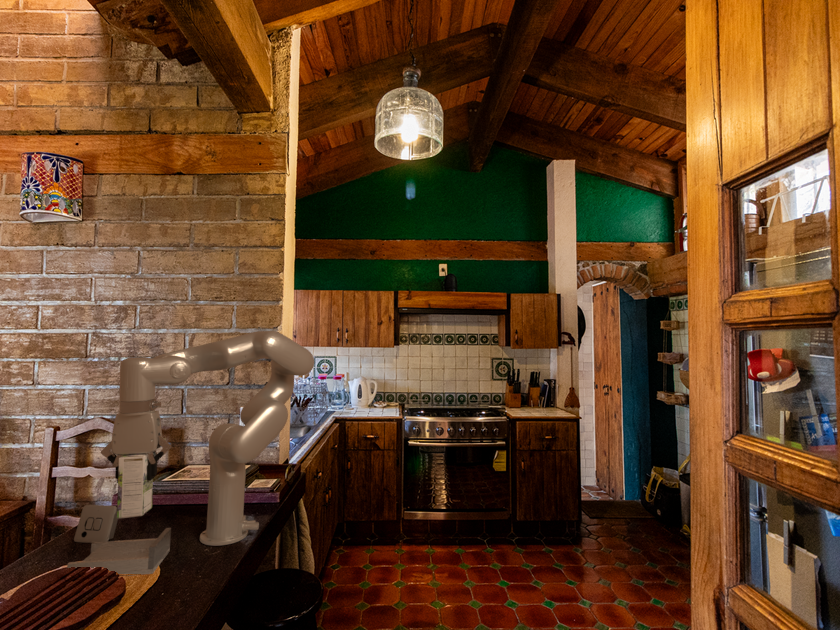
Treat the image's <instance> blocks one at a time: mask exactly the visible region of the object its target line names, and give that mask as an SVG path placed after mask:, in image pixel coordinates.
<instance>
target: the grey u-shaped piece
mask: <svg viewBox="0 0 840 630" xmlns="http://www.w3.org/2000/svg"><path fill="white" fill-rule="evenodd" d="M171 533H172V527H165V529H164V530H163V531H162V532H161V533H160V534H159V536H158V537H157V538H143V539H125V540H110V541H109V540H108V541H107V542H93V543H90V545H91V546H90V554H89V555H87V557H85V558H84V559H83V560H82V561H71V562H70V561H69V562H68V563H67V565H66V569H67V568H71V567H75V568H77V567H91V568H94V567H104V568H107V569H108V570H109V571H115V572H117V573H118V574H141V575H151V574H154V572H155V571H156V570H157V569H158V567H159V566H160V565H161V563H163V560H164V559H165V558H166V557H167V556H168V554H169V552H171V535H172V534H171Z"/></svg>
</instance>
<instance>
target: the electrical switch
mask: <svg viewBox="0 0 840 630" xmlns="http://www.w3.org/2000/svg"><path fill="white" fill-rule="evenodd" d="M80 513H81V514H80V517H79V520H78V524H77V528H76V531H75V534H74V538H73V540H74V542H76V543H87V544H92V543H93V542H107V541H109V540H111V539H114V536H115V532H116V529H117V523H118V521H119V518H117V505H101V504H99V505H98V504H85V505H84V506H83V507H82V511H81V512H80Z"/></svg>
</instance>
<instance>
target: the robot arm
mask: <svg viewBox="0 0 840 630" xmlns="http://www.w3.org/2000/svg"><path fill="white" fill-rule="evenodd" d="M262 359H264V360H265V359H267V360H270V368H271V369H270V372H271V373H270V374H271V375H270V378H269V380H268V382H267V383H266V384H265V385H264V386H263V387H262V388H261V389H260V390H259V391H258V392H257V393H255V395H253V397H252V398H251V399H250V400H249V401H247V403H245V405H244V406H243V407H242V409H241V411H240V415H239V417H240V422H241V423H242V424H243V425H240V424H237V423H233V422H231V423H223V424H220V425H219V426H217V427H216V428H214V429H213V431H212V432H211V434H210V437H209V439H208V455H209V456H208V457H209V483H208V497H207V513H206V514H207V515H206V529H205V530H204V531H202V532H201V533H200V535H199V541H200V543H202V544H204V545H206V546H215V547H216V546H218V547H219V546H226V545H231V544H235V543H238V542H240V541H242V540H243V539H245V538H246V537H247V536H248V535H249V531H250V530H251V531H257V530H259V528H260V523H259V521H257V522H256V520H254V519H253V520H248V519H246V515H244V510H245V509H244V508H245V507H244V506H245V490H246V489H245V488H246V473H247V472H246V470H247V469H246V463H250V462H252V461H254V460H255V459H256V458H258V457H259V456H260V455H261V454H262V452H263V451H264V450H265V449H266V448H267V447H268V446H269V445H270V444H271V443H272V442H273V441H274V440H275V439H276V438H277V436H278V435H279V434H280V433H281V432H282V430H284V428H285V426H286V424H287V422H288V417H289V412H288V408H287V405H286V403H287V402H288V401H289V400H290V399H291V396H292V395H293V393H294V390H295V389H294V388H295V377H296V376H297V377H298V376H300V377H302V376H305V375H308V374H309V373H310V372H311V371H312V370H313V368H314V366H315V359H314V355H313V354H312V352H311V351H310V350H309V349H307V348H306V347H304V346H303V345H301V344H300V343H298V342H296V341H294V340H293V339H291V338H289V337H288V336H286V335H285V334H283V333H281V332H278V331H275V330H258V331H252V332H249V333H245V334H241V335H237V336H234V337H229V338H226V339H222V340H217V341H213V342H208V343H205V344H200V345H196V346H192V347H187V348H181V349H179V350H178V349H177V350H173V351H171V352H165V353H163V354H159V355H157V356H156V355H155V356H154V357H153V358H152V357H129V358H124V359H122V360H121V362H120V364H119V399H118V401H119V403H118V404H119V405H118V408H119V409H118V411H119V412H118V413H116V414H115V417H114V418H115V419H114V422H113V427H112V435H111V441H110V442H109V443H108V444H107V445H106V446H105V447H103V449H101V451H100V454H101V455H102V456H104V457H105V458H106V459H107V460H108V461H109V462H110V463H111V464H112V465H113V467H115V477H114V478H115V479H116V483H117V484H118V472H119V458H120V457H122V456H124V455H128V454H143V453H146V454H147V457H148V459H149V461H150V462H149V464H148V466H147V480H148V481H151V480H152V479H153V480H154V478H155V477H156V476H157V474H158V461H159V460H160V459H161V458H162V457H163V456H164V455H166V453H167V452H169V450H171V449H172V444H170V443H169V442H168V441H167V440H166V439H165V438H164V437H163V432H162V422H161V416H160V415H161V414H160V412H159V410H156V409H157V408H160V407H162V402H161V401H157V398H156V385H170V386H171V385H172V386H174V385H180V384H183V383H184V382H186V381H187V380H188V379H189V378H190V377H191V374H196V373H200V372H213V371H214V372H215V371H224V370H228V369H232V368H235V367H238V366H241V365H244V364H247V363H252V362H254V361H258V360H262ZM160 448H162V449H161V450H160V451H158V453H157V449H160Z"/></svg>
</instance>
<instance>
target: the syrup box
mask: <svg viewBox="0 0 840 630" xmlns="http://www.w3.org/2000/svg"><path fill="white" fill-rule="evenodd" d="M149 462H150V461H149V459H148V457H147V454H146V453H143V454H128V455H124V456H122V457H120V458H119V472H118V483H117V501H116V502H117V505H116V508H117V518H118V519H125V518H135V517H143V516H144V515H145V514H147V512H149V511H150V510H151V509H152V508H153V495H154V494H153V486H154V485H153V483H154V478H153V479H152V480H151V481H148V480H147V466H148V464H149Z"/></svg>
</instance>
